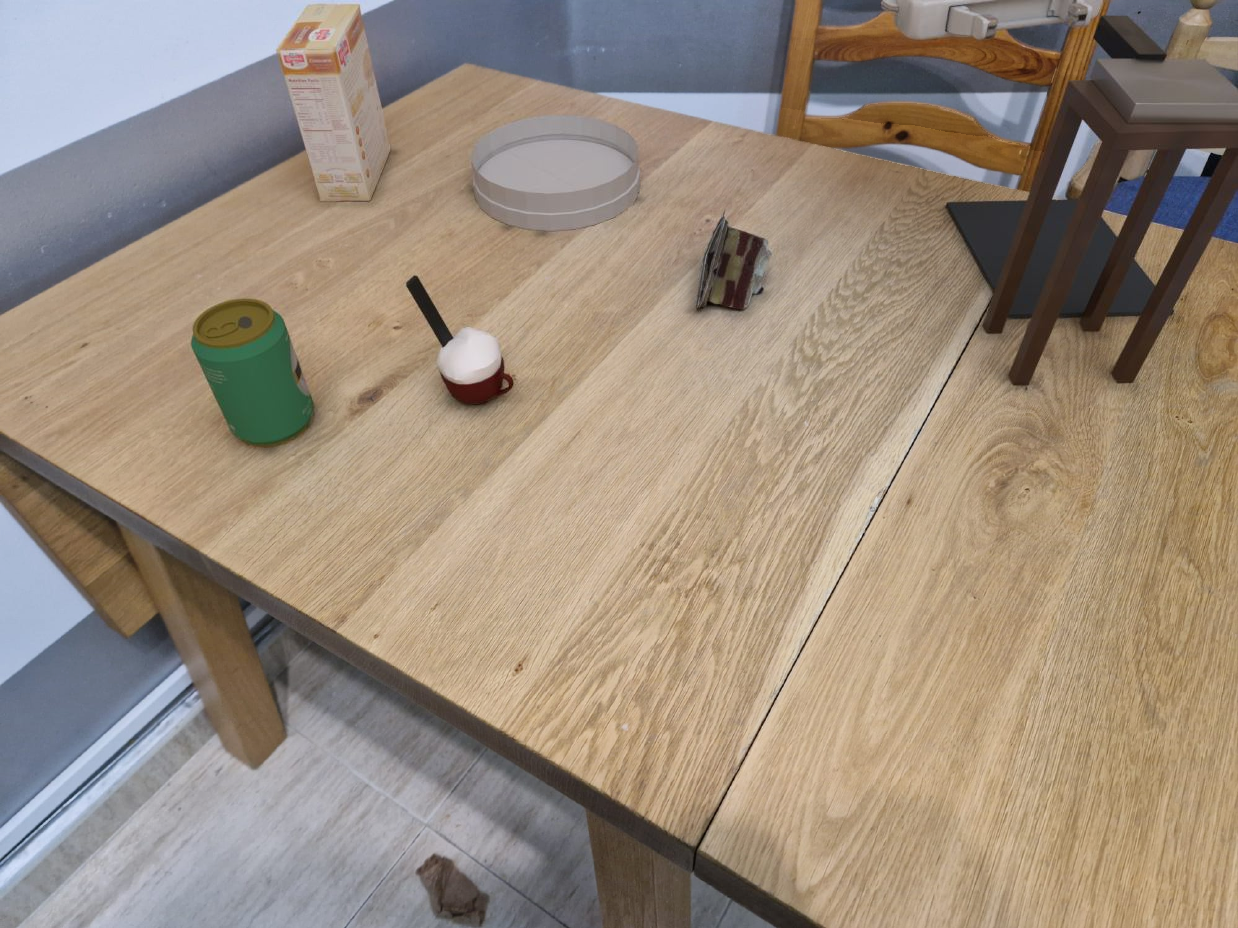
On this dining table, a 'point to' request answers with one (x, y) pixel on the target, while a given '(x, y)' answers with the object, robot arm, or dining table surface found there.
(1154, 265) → the dining table surface
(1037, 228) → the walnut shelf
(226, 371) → the beverage can
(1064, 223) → the rubber mat
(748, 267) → the chocolate cake
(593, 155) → the dish
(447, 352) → the cocoa
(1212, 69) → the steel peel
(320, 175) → the coffeecake box
